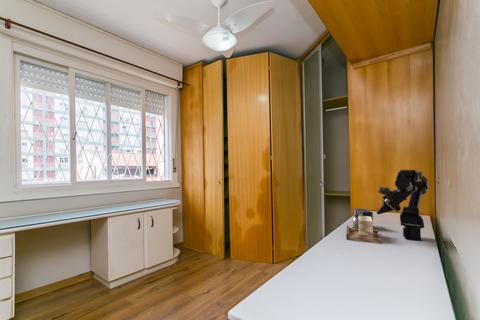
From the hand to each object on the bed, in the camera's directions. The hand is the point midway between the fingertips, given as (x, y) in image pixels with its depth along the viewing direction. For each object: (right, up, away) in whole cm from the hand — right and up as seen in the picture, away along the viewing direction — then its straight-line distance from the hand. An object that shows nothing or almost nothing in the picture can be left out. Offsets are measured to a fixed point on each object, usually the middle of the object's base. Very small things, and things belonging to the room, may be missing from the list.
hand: (377, 213), depth 117 cm
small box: (+4, -13, +20) cm, 24 cm away
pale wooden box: (-5, -13, +2) cm, 14 cm away
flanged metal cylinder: (-2, -13, +17) cm, 21 cm away
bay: (-6, -13, +3) cm, 14 cm away
